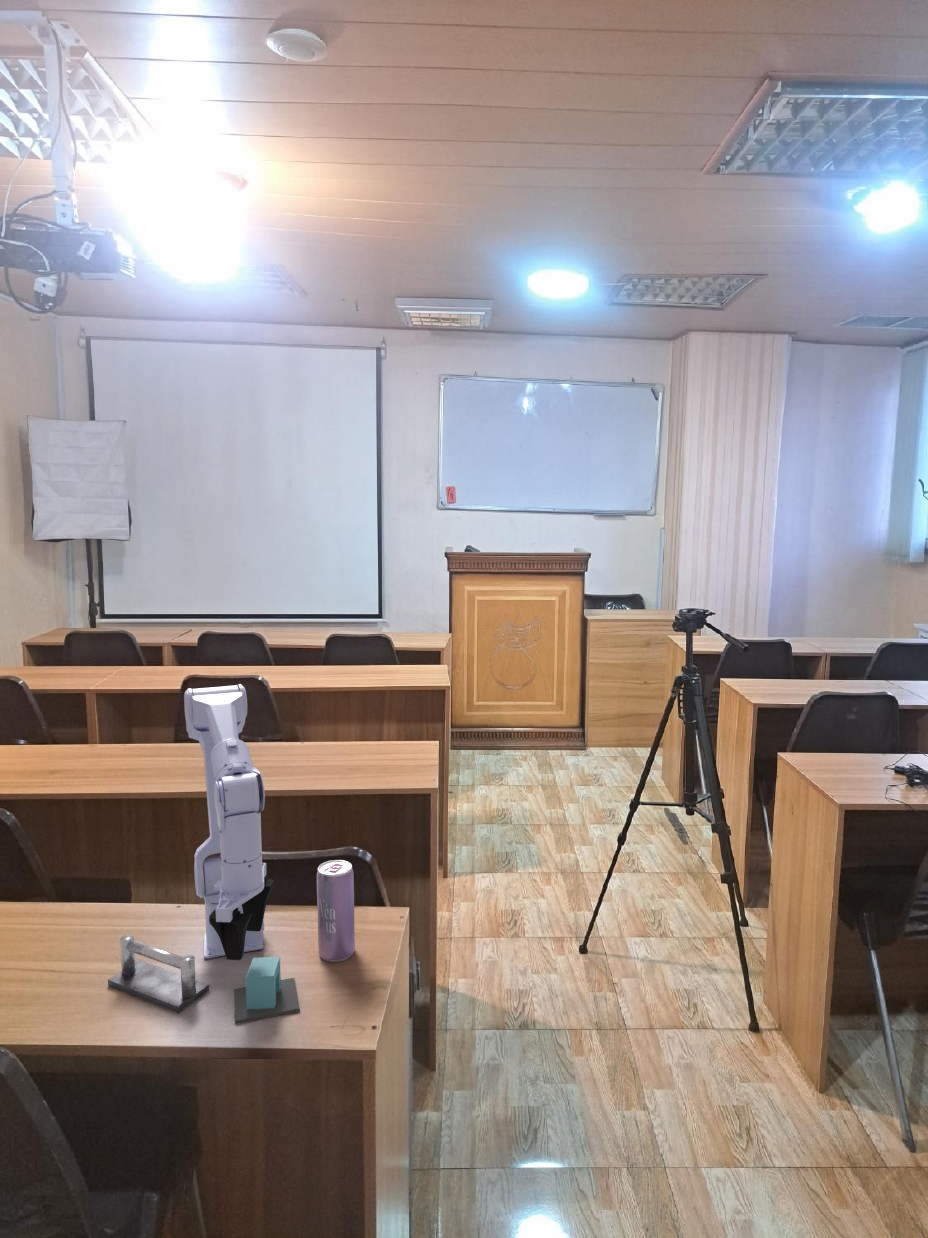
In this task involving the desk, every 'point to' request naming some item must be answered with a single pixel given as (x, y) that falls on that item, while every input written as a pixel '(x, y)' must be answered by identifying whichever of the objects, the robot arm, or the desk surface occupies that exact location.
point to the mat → (284, 1005)
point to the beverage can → (335, 910)
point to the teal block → (263, 983)
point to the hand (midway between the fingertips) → (244, 944)
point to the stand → (157, 976)
